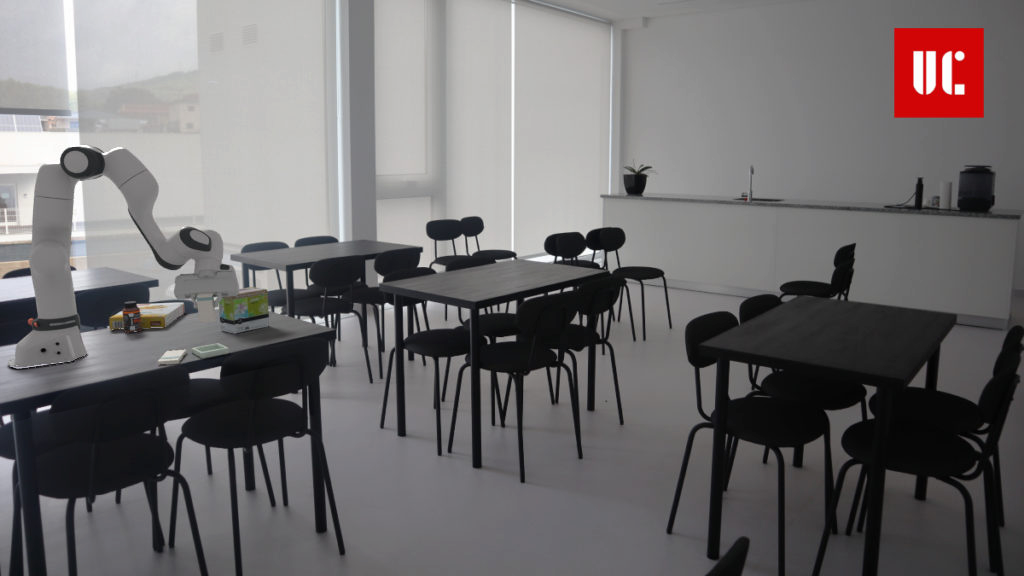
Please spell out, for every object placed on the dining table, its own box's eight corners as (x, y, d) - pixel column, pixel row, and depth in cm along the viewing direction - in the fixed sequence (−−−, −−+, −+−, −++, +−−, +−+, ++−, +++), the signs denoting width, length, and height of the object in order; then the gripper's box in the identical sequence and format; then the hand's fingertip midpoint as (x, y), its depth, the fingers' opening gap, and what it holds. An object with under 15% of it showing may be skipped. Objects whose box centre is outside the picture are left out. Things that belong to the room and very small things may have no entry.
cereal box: (108, 317, 291) (132, 302, 318) (109, 331, 292) (133, 315, 319) (165, 315, 294) (184, 300, 321) (166, 329, 295) (185, 314, 322)
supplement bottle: (137, 333, 287) (133, 303, 285) (121, 333, 287) (118, 303, 285) (145, 329, 293) (141, 300, 291) (129, 329, 293) (126, 300, 291)
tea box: (235, 334, 282) (232, 294, 280) (220, 331, 288) (216, 292, 286) (270, 326, 294) (267, 288, 291) (254, 323, 300) (251, 285, 297)
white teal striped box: (199, 322, 253) (196, 295, 251) (201, 320, 257) (198, 293, 255) (214, 321, 254) (211, 295, 252) (216, 319, 258) (213, 292, 256)
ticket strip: (157, 365, 244) (157, 360, 244) (167, 354, 257) (167, 350, 257) (178, 363, 245) (177, 359, 245) (186, 352, 258) (186, 348, 258)
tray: (201, 358, 251) (201, 353, 250) (191, 353, 257) (191, 348, 257) (229, 353, 257) (228, 347, 256) (218, 348, 263) (218, 343, 263)
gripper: (173, 269, 257) (169, 303, 249) (237, 265, 260) (236, 299, 253) (177, 279, 262) (174, 314, 254) (240, 276, 266) (239, 310, 258)
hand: (205, 306), depth 254 cm, fingers closed on white teal striped box, 4 cm apart
